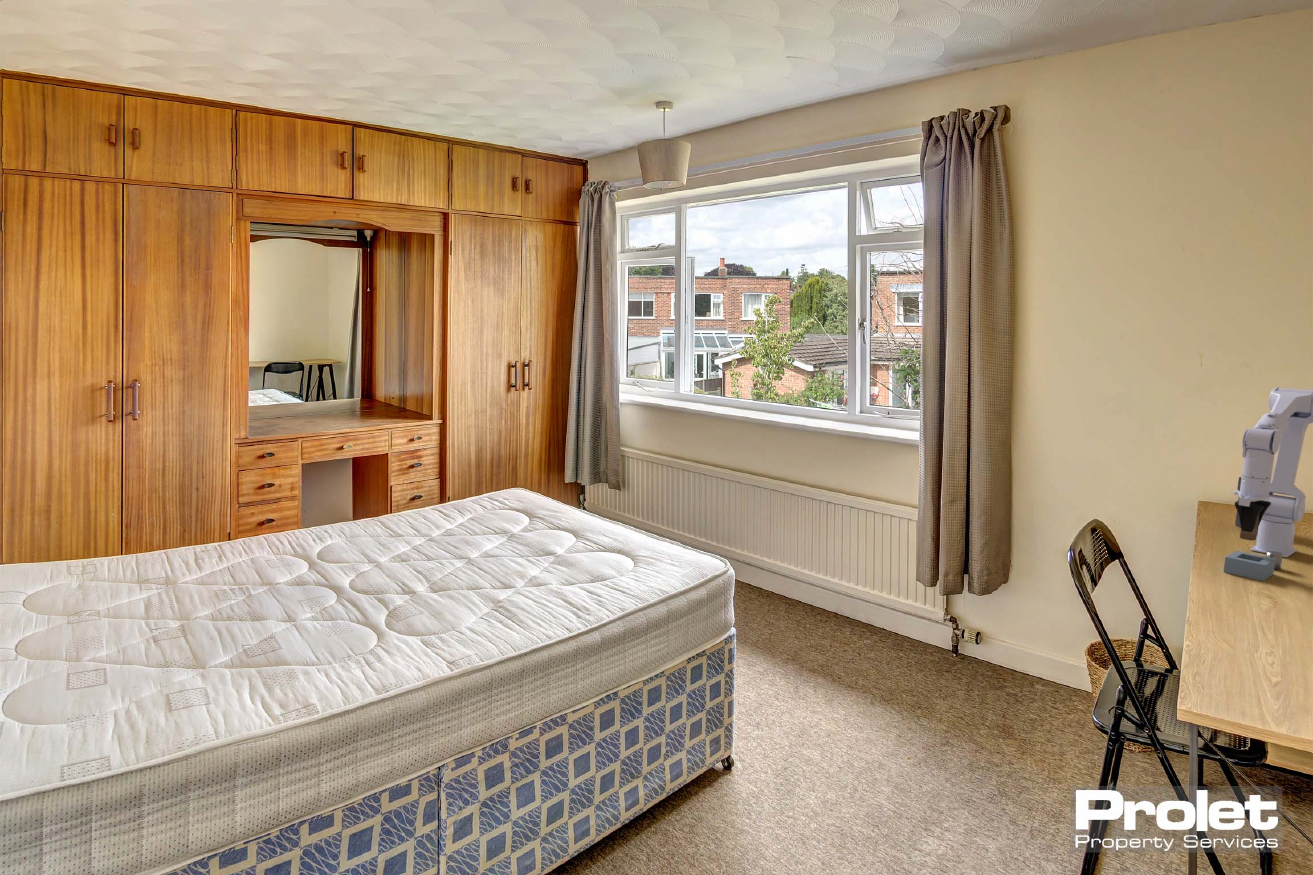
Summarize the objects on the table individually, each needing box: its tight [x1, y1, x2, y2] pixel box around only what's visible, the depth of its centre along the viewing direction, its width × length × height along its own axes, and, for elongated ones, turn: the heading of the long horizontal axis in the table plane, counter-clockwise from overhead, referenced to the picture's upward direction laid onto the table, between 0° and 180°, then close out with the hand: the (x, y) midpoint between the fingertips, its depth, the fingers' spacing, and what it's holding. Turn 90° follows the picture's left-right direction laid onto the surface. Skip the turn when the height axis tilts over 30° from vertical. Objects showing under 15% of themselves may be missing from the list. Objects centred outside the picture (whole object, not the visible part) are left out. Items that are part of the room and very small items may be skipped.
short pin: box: [1265, 551, 1284, 571], centre depth 189 cm, size 3×3×4 cm
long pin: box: [1239, 516, 1259, 541], centre depth 187 cm, size 3×3×7 cm
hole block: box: [1223, 550, 1275, 582], centre depth 185 cm, size 8×8×4 cm
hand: (1249, 529), depth 187 cm, fingers closed on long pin, 3 cm apart
